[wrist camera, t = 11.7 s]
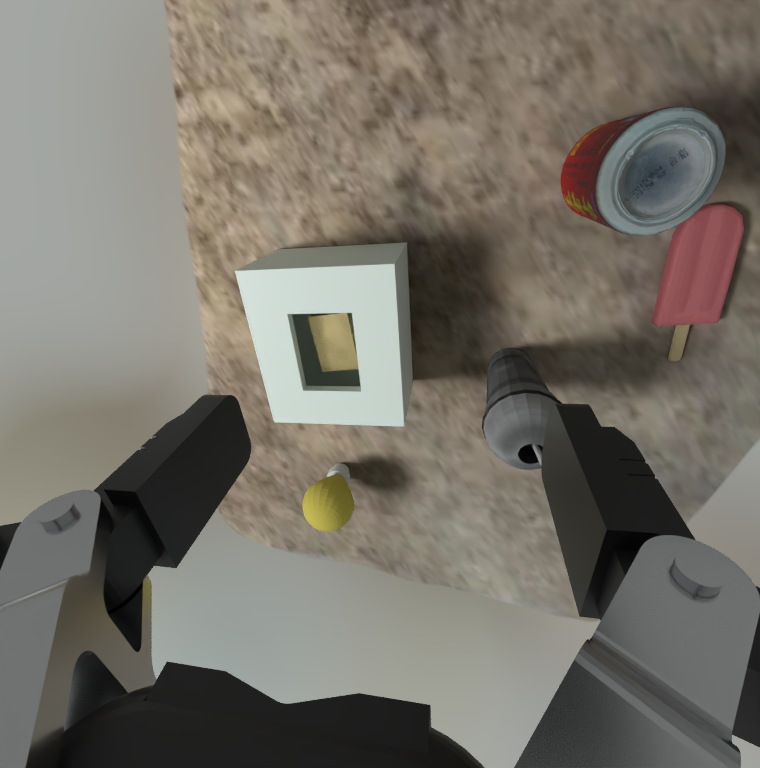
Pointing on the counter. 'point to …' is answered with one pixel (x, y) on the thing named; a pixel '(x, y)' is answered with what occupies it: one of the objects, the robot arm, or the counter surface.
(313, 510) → the light bulb
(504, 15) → the counter surface
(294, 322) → the box
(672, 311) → the popsicle
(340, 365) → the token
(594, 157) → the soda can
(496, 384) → the beverage cup
